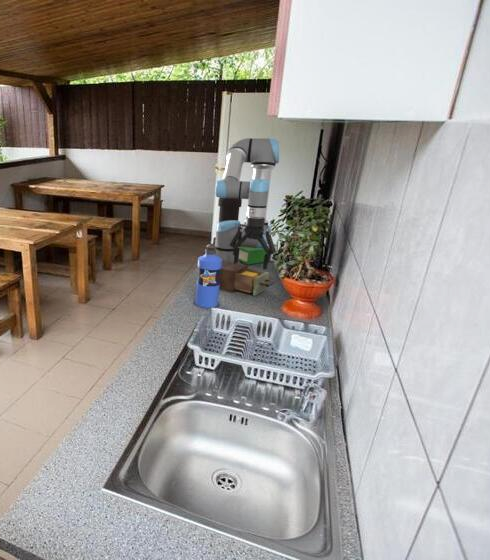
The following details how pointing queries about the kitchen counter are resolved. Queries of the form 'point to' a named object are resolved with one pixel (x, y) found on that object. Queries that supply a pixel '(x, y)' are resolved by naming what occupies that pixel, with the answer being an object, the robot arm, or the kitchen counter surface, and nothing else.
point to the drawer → (246, 281)
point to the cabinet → (229, 275)
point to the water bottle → (208, 278)
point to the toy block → (251, 275)
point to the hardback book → (253, 254)
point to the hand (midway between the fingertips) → (250, 265)
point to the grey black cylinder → (228, 210)
